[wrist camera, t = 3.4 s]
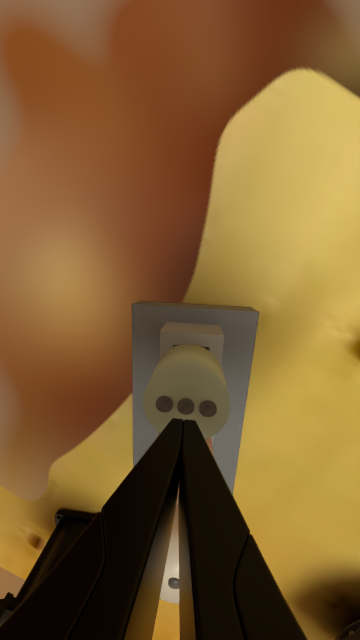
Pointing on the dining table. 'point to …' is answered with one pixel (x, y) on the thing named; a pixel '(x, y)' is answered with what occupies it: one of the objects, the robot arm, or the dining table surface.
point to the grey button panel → (210, 333)
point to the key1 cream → (172, 567)
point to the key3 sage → (188, 390)
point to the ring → (350, 632)
